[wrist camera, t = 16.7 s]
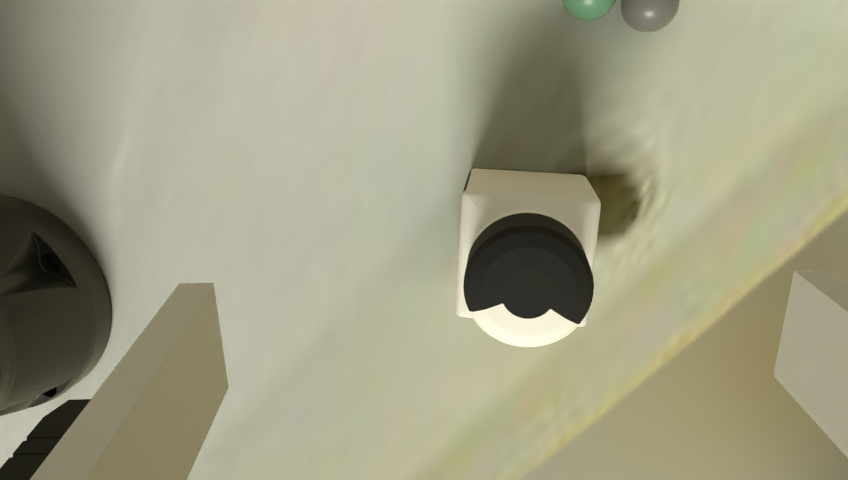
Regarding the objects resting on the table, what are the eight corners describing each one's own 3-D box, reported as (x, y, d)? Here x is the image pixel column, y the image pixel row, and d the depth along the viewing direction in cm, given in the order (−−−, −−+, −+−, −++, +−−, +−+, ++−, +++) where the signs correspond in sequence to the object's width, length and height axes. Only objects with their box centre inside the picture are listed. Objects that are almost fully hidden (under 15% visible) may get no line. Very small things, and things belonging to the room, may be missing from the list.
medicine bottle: (469, 166, 42) (454, 212, 30) (587, 174, 41) (617, 223, 30) (463, 276, 44) (446, 357, 32) (575, 284, 43) (598, 371, 31)
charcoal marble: (610, 27, 38) (618, 25, 36) (625, -29, 38) (634, -35, 35) (663, 37, 38) (675, 36, 35) (678, -19, 37) (692, -24, 35)
